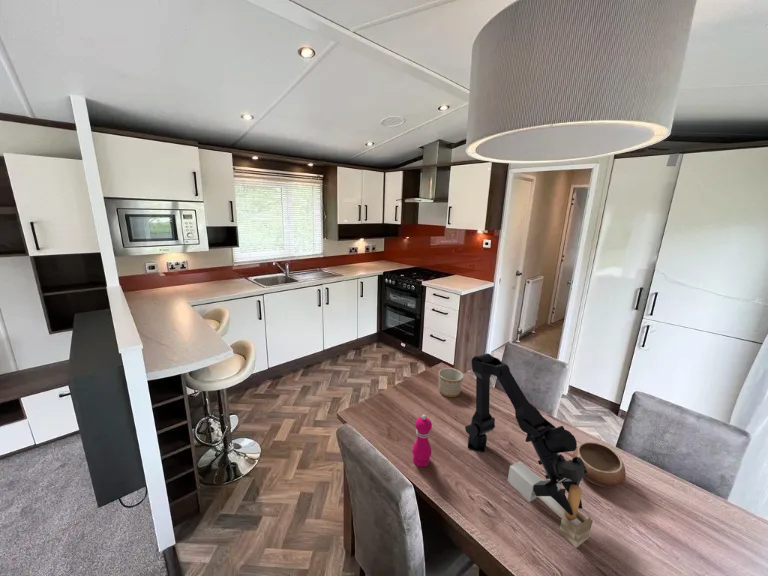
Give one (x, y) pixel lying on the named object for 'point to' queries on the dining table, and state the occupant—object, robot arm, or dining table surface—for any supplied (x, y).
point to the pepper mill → (422, 442)
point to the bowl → (601, 464)
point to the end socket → (576, 530)
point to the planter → (450, 382)
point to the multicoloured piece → (573, 500)
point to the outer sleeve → (523, 480)
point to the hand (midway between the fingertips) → (576, 511)
